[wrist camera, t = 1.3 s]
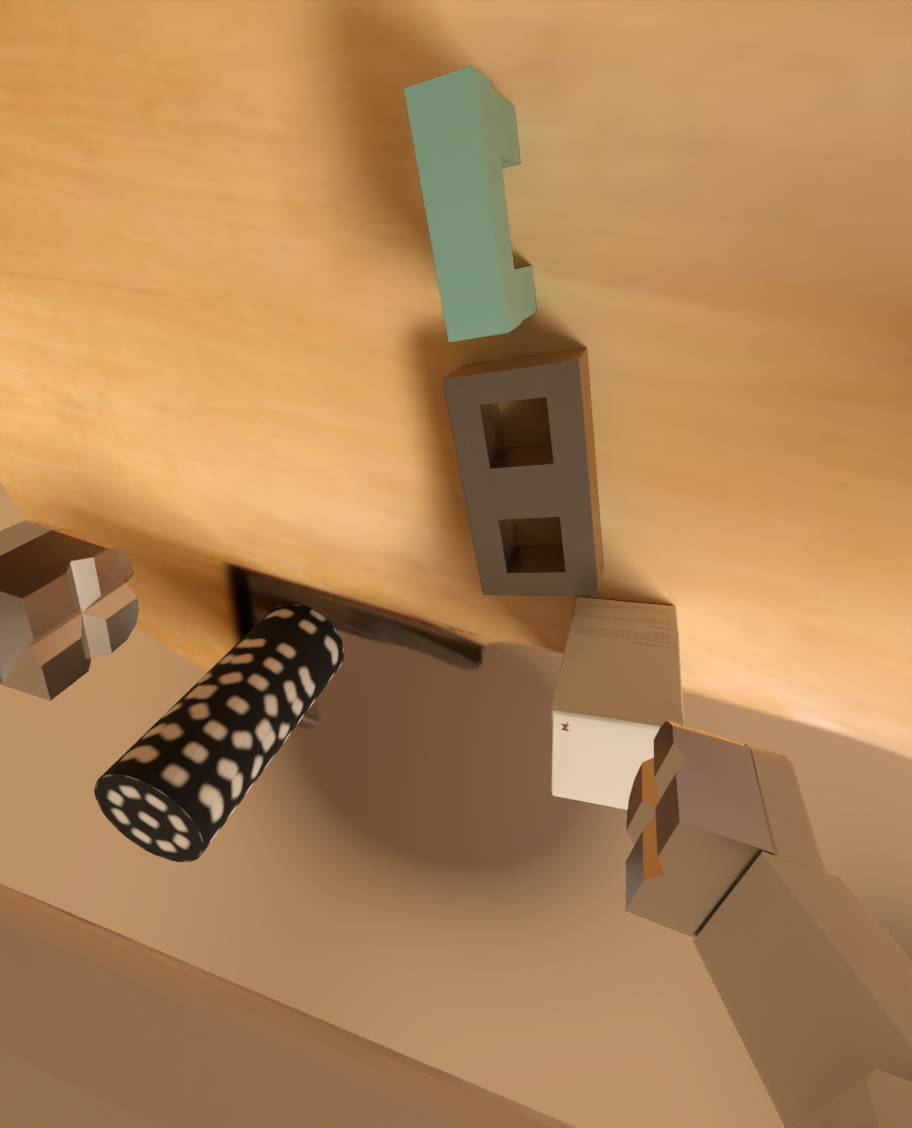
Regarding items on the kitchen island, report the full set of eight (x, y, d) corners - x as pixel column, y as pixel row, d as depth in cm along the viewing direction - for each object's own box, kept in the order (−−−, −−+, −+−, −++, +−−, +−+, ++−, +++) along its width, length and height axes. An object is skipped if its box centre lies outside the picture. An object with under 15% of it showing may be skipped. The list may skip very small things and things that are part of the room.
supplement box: (572, 670, 47) (546, 797, 37) (576, 593, 43) (548, 709, 33) (668, 685, 45) (670, 823, 34) (680, 604, 41) (687, 732, 31)
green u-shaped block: (519, 105, 30) (472, 65, 23) (541, 310, 35) (508, 332, 27) (464, 121, 31) (403, 88, 24) (493, 318, 36) (448, 342, 28)
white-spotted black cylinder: (357, 639, 52) (217, 828, 36) (325, 689, 57) (187, 877, 41) (281, 587, 52) (104, 754, 36) (254, 642, 57) (86, 812, 40)
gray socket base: (586, 347, 35) (579, 360, 32) (603, 565, 42) (598, 595, 38) (461, 366, 38) (442, 379, 34) (496, 567, 44) (483, 595, 41)
